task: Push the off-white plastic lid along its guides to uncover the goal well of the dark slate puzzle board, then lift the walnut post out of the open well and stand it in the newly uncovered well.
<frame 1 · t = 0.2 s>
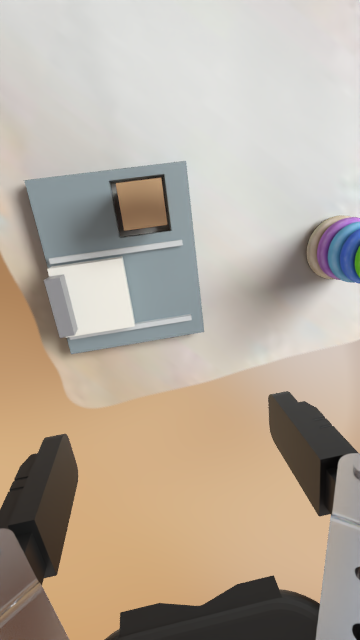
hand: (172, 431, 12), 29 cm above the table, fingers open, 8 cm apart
lid: (92, 299, 35), point 4 cm above the table, slide at 0.0 cm
puzzle board: (124, 262, 38), on the table
walnut post: (141, 207, 36), resting in puzzle board
stacking toy: (331, 247, 41), on the table
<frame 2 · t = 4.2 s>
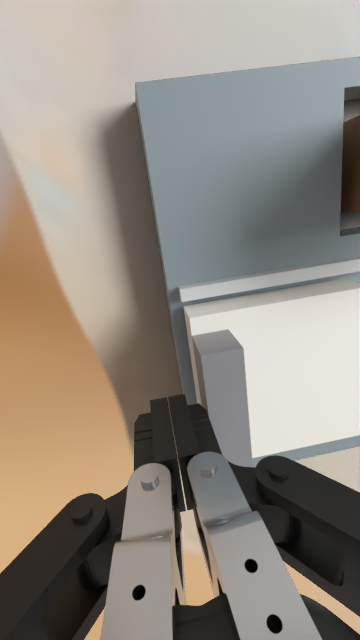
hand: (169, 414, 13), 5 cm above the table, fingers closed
lid: (285, 384, 14), point 4 cm above the table, slide at 0.1 cm, touching gripper
puzzle board: (316, 288, 18), on the table
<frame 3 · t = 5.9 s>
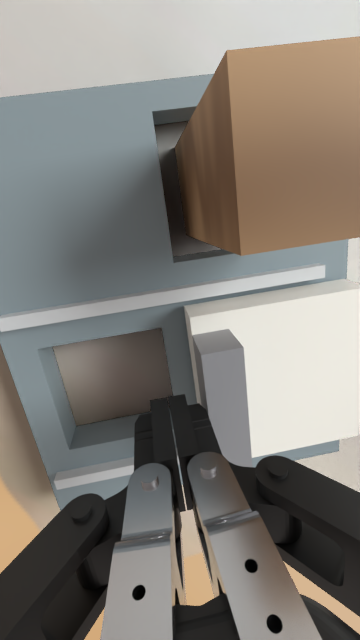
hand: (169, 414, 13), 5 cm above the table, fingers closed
lid: (284, 384, 14), point 4 cm above the table, slide at 8.2 cm, touching gripper
puzzle board: (177, 312, 17), on the table
walnut post: (220, 187, 15), resting in puzzle board
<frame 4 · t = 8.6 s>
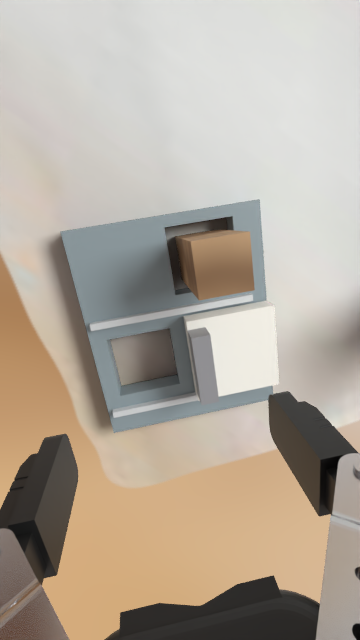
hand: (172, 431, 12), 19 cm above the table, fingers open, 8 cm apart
lid: (235, 355, 28), point 4 cm above the table, slide at 8.4 cm
puzzle board: (177, 319, 31), on the table
walnut post: (199, 254, 29), resting in puzzle board
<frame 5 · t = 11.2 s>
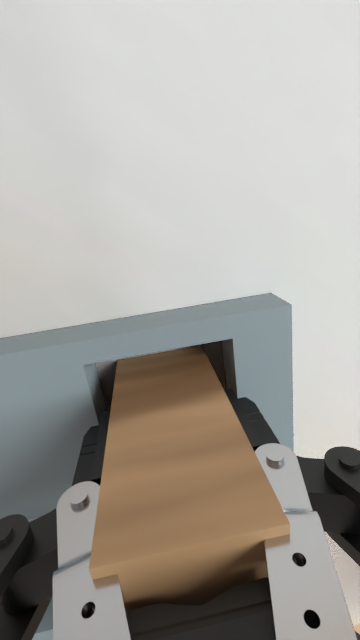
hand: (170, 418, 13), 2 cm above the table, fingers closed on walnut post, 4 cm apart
puzzle board: (128, 494, 17), on the table
walnut post: (166, 389, 15), resting in puzzle board, touching gripper
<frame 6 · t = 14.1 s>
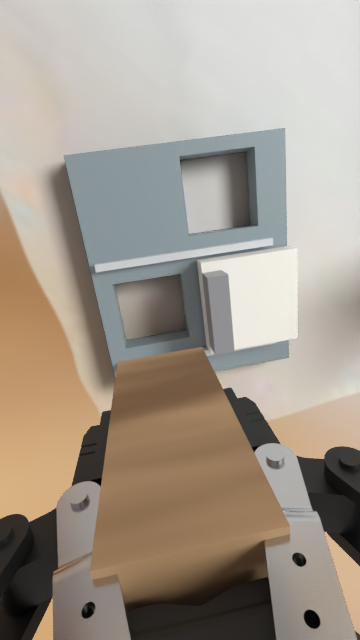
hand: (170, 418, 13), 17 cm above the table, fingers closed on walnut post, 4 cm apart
lid: (252, 303, 26), point 4 cm above the table, slide at 8.4 cm
puzzle board: (189, 268, 29), on the table
walnut post: (166, 390, 15), point 15 cm above the table, touching gripper
when the fingers open (4 cm above the table, at t = 16.8 s): walnut post drops 1 cm, resting in puzzle board.
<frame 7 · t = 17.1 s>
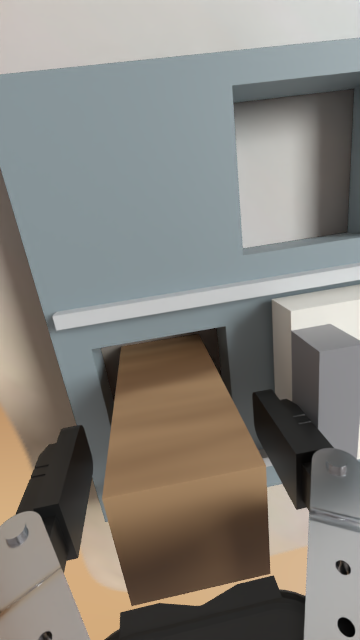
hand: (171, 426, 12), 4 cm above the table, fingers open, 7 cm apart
puzzle board: (234, 309, 16), on the table
walnut post: (165, 374, 17), resting in puzzle board
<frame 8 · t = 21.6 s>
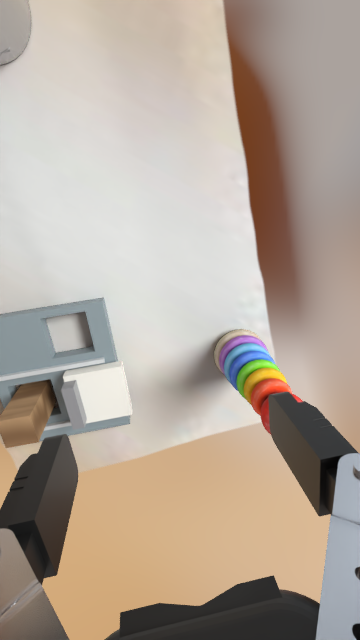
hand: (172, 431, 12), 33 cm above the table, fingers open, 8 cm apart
lid: (98, 396, 44), point 4 cm above the table, slide at 9.4 cm
puzzle board: (60, 371, 46), on the table
walnut post: (39, 392, 47), resting in puzzle board
stacking toy: (236, 350, 49), on the table
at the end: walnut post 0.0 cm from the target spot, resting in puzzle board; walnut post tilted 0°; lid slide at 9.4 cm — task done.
